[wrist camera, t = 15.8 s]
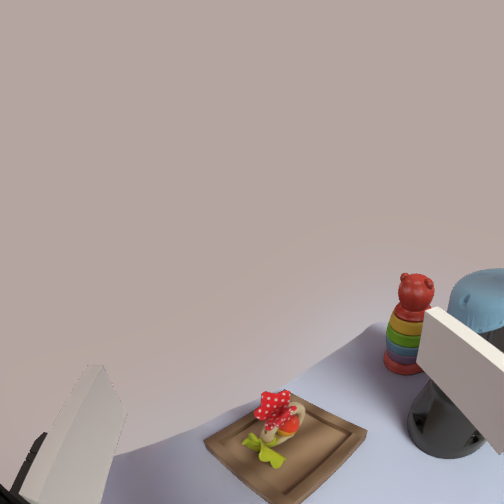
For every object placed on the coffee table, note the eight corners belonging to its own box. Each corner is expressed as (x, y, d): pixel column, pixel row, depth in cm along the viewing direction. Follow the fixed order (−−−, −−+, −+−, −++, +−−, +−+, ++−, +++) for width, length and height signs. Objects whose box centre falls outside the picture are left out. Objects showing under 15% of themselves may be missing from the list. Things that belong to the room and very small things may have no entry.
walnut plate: (365, 439, 31) (367, 430, 30) (285, 515, 21) (284, 509, 21) (285, 398, 43) (284, 389, 43) (206, 448, 33) (203, 440, 33)
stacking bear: (439, 358, 44) (455, 273, 39) (413, 384, 39) (430, 291, 35) (400, 340, 53) (407, 261, 49) (370, 361, 49) (376, 275, 44)
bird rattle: (272, 434, 36) (228, 453, 30) (289, 372, 37) (243, 384, 30) (306, 452, 32) (264, 478, 25) (327, 387, 32) (285, 406, 26)
